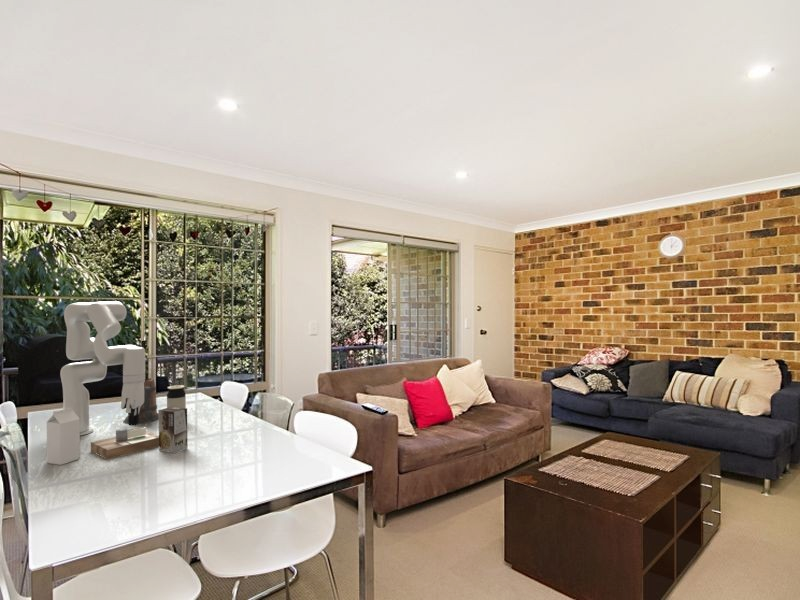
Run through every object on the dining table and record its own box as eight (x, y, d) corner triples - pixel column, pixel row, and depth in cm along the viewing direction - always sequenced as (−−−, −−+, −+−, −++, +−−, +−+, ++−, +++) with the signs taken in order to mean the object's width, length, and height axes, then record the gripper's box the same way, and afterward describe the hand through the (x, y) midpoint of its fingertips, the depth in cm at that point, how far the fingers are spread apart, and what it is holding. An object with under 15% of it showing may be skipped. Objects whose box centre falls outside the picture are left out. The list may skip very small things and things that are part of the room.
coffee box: (188, 448, 182) (188, 408, 182) (174, 453, 177) (174, 411, 177) (172, 445, 186) (172, 406, 186) (158, 450, 180) (157, 409, 180)
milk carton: (80, 459, 172) (79, 408, 172) (60, 465, 165) (60, 412, 165) (66, 457, 174) (66, 406, 174) (46, 463, 167) (46, 411, 167)
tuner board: (91, 451, 181) (90, 441, 181) (144, 438, 196) (144, 430, 197) (107, 459, 171) (107, 449, 171) (162, 445, 187) (162, 436, 187)
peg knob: (117, 442, 179) (117, 431, 179) (114, 440, 182) (114, 430, 182) (146, 436, 187) (146, 426, 187) (143, 434, 190) (143, 424, 190)
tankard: (119, 419, 230) (119, 379, 230) (156, 413, 241) (156, 375, 241) (129, 428, 213) (129, 385, 213) (169, 422, 224) (168, 381, 224)
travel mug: (169, 427, 214) (169, 388, 214) (165, 424, 220) (164, 386, 220) (187, 424, 219) (187, 386, 219) (182, 421, 225) (182, 384, 225)
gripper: (132, 375, 188) (132, 419, 188) (114, 382, 173) (113, 430, 174) (152, 375, 189) (151, 419, 189) (135, 382, 174) (134, 430, 174)
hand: (133, 424), depth 181 cm, fingers closed
